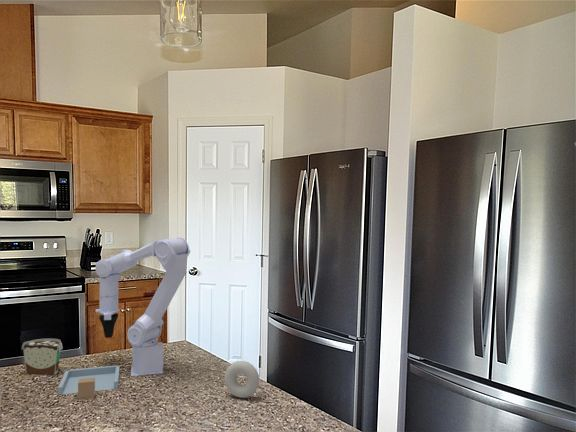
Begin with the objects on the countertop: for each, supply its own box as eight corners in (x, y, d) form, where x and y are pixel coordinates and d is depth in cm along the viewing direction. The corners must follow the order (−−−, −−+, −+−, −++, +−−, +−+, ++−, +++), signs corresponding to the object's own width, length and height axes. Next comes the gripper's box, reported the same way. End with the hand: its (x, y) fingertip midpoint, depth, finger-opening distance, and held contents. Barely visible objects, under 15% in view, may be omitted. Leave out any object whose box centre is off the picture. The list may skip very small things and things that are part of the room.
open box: (119, 373, 142) (119, 365, 142) (117, 390, 129) (117, 381, 129) (65, 378, 137) (65, 370, 137) (58, 396, 124) (58, 387, 124)
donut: (261, 397, 125) (261, 360, 125) (256, 402, 122) (257, 364, 121) (227, 392, 128) (227, 357, 127) (222, 397, 124) (222, 361, 124)
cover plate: (110, 394, 127) (110, 375, 126) (108, 410, 117) (108, 389, 117) (63, 400, 123) (63, 380, 123) (56, 416, 113) (56, 395, 113)
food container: (71, 370, 144) (71, 338, 144) (59, 377, 138) (59, 344, 138) (34, 368, 145) (34, 337, 145) (21, 375, 139) (21, 342, 139)
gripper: (97, 292, 154) (97, 332, 154) (93, 300, 140) (93, 344, 140) (119, 291, 156) (119, 330, 156) (118, 299, 142) (117, 342, 142)
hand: (108, 337), depth 148 cm, fingers closed
